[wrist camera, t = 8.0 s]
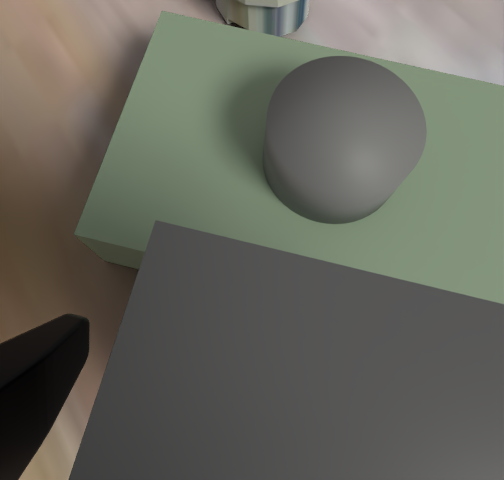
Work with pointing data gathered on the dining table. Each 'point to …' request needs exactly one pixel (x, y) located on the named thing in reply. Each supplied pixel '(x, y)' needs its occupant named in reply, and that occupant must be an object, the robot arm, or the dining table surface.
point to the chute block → (293, 372)
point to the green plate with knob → (306, 158)
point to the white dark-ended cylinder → (265, 14)
